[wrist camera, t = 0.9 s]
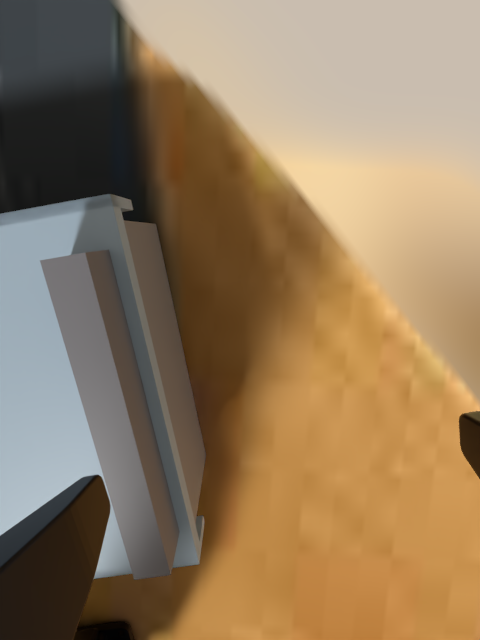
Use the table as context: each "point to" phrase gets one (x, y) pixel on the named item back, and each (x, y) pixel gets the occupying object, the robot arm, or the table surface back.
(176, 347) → the open gray box
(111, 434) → the lid
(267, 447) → the table surface
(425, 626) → the table surface
